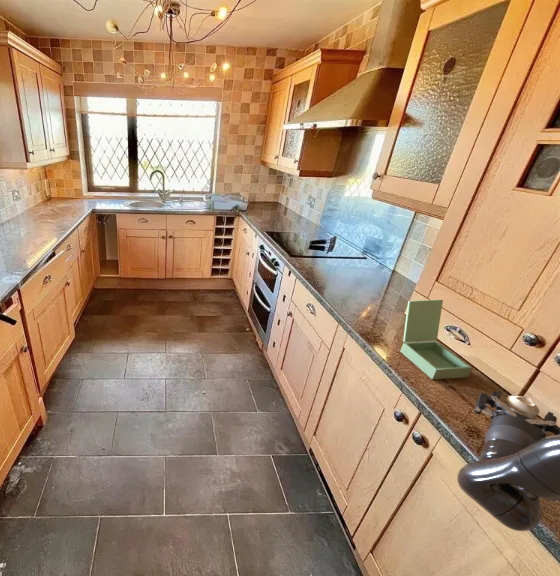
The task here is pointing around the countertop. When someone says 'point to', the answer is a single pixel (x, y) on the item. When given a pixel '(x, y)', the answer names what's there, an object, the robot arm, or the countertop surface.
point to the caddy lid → (422, 320)
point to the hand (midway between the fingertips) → (522, 403)
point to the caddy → (435, 360)
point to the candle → (522, 406)
